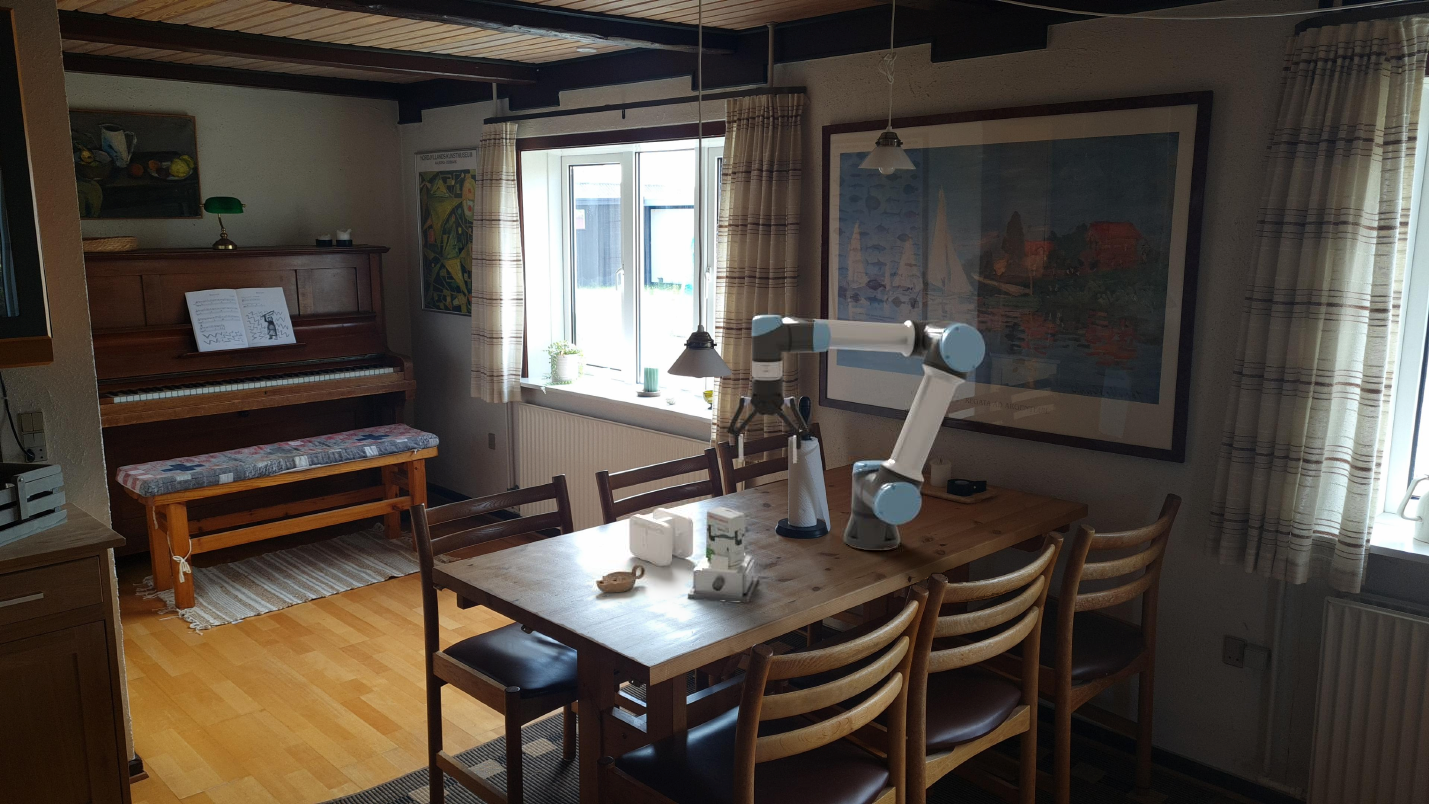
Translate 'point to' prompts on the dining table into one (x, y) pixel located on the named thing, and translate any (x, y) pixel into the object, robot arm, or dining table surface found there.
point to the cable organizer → (661, 536)
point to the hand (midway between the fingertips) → (767, 461)
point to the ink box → (726, 534)
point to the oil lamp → (620, 580)
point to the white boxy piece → (723, 579)
